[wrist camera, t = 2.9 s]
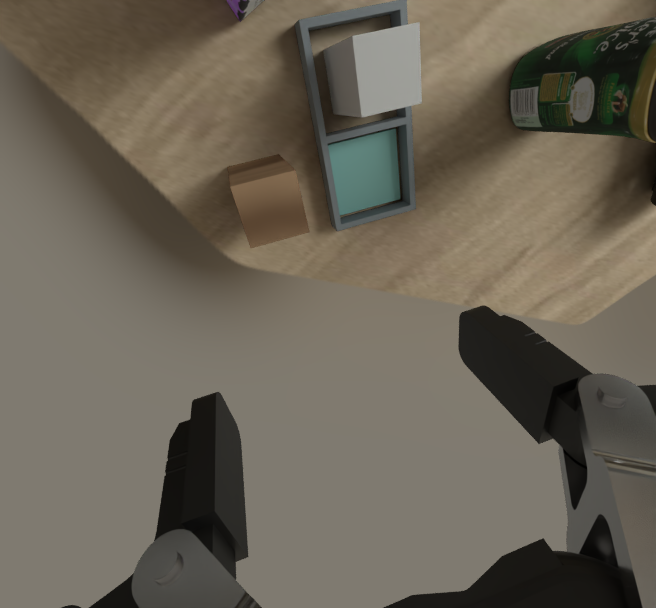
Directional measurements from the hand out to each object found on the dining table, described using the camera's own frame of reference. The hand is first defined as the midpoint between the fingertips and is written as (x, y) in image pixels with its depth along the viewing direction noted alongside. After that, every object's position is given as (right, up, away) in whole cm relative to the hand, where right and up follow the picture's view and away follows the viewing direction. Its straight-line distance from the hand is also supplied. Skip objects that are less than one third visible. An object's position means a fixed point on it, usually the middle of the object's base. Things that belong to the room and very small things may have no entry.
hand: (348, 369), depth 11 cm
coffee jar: (+22, +26, +26) cm, 43 cm away
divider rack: (+2, +20, +23) cm, 30 cm away
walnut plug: (-7, +14, +23) cm, 28 cm away
